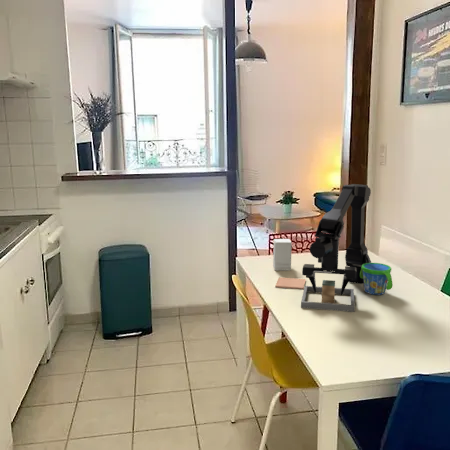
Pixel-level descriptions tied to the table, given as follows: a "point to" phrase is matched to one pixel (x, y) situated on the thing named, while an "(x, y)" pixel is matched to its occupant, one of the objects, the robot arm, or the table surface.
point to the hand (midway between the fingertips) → (328, 293)
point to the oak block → (328, 291)
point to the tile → (290, 283)
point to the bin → (328, 305)
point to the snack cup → (376, 278)
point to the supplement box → (282, 254)
